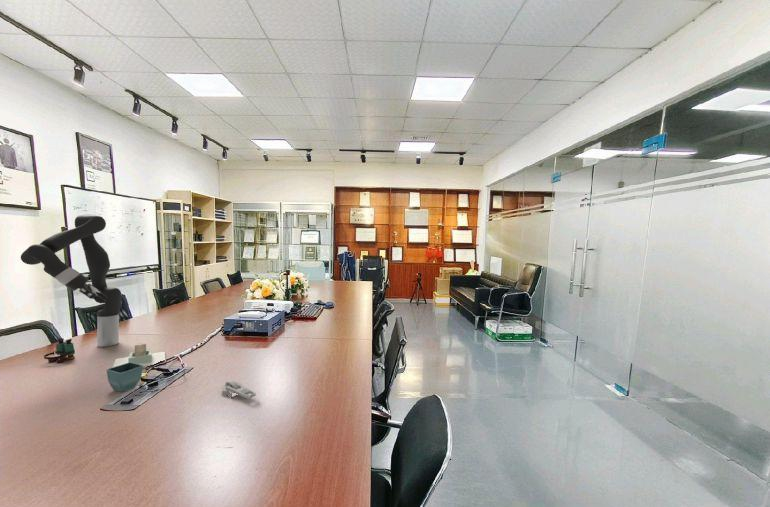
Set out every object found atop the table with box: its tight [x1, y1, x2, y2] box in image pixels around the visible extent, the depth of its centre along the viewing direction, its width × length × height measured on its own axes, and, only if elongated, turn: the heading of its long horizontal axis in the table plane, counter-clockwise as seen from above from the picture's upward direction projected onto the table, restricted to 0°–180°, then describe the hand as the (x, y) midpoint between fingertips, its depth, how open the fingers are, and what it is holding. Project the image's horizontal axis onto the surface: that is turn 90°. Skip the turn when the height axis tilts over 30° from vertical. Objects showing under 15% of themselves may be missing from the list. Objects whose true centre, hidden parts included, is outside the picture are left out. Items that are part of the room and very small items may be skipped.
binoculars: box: [43, 337, 76, 364], centre depth 150 cm, size 9×11×10 cm
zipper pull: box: [221, 380, 257, 400], centre depth 122 cm, size 8×18×4 cm, turn 57°
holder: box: [112, 349, 166, 369], centre depth 151 cm, size 18×20×4 cm
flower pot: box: [106, 362, 144, 393], centre depth 125 cm, size 9×9×9 cm
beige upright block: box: [134, 343, 147, 356], centre depth 151 cm, size 4×4×8 cm
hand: (104, 300), depth 151 cm, fingers open, 8 cm apart
